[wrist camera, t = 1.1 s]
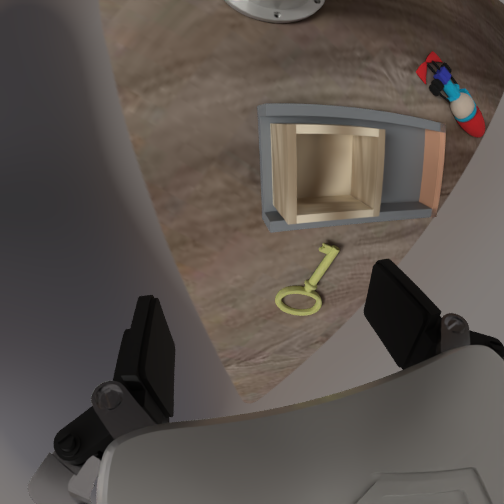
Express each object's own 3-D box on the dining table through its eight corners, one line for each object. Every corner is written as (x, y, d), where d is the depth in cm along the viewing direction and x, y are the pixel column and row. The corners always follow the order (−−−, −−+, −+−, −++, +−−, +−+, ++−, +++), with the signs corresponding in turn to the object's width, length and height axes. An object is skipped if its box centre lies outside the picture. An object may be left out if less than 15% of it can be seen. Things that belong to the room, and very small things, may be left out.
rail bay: (262, 218, 32) (270, 232, 28) (257, 106, 26) (265, 103, 22) (418, 206, 35) (436, 216, 31) (425, 121, 29) (446, 124, 25)
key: (336, 238, 36) (343, 245, 34) (315, 311, 41) (320, 320, 39) (285, 236, 34) (290, 243, 32) (270, 313, 40) (274, 322, 38)
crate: (272, 204, 30) (288, 224, 25) (270, 123, 26) (286, 124, 21) (352, 199, 31) (379, 216, 26) (355, 125, 27) (385, 129, 22)
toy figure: (406, 77, 27) (464, 149, 31) (426, 69, 23) (485, 150, 26) (423, 51, 26) (477, 120, 29) (442, 43, 21) (497, 119, 25)
